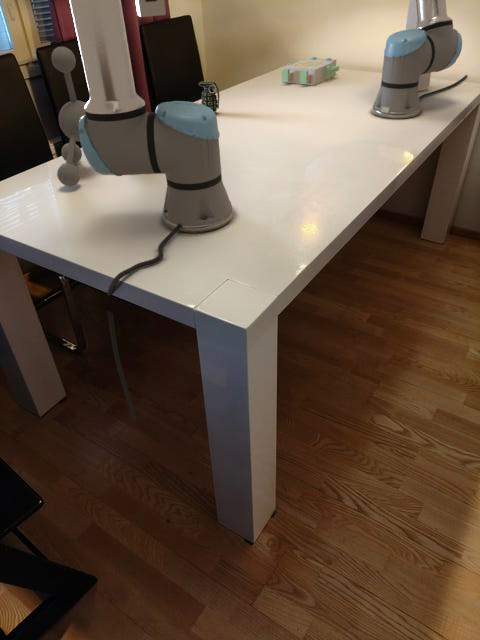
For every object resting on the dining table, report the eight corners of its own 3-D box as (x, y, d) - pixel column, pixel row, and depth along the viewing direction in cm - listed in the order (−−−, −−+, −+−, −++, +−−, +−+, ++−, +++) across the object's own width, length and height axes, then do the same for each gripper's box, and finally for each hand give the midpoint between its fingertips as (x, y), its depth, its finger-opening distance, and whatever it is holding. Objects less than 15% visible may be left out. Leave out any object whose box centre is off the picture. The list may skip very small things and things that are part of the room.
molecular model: (148, 176, 128) (126, 47, 109) (62, 192, 122) (23, 59, 103) (130, 150, 145) (108, 34, 127) (54, 163, 139) (20, 44, 121)
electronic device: (399, 93, 181) (413, -3, 163) (389, 89, 187) (401, -5, 168) (429, 89, 183) (446, -6, 165) (418, 85, 189) (433, -8, 171)
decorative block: (304, 55, 215) (345, 58, 206) (303, 71, 219) (344, 74, 210) (272, 66, 199) (316, 70, 190) (273, 83, 203) (315, 88, 194)
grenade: (199, 115, 171) (196, 84, 165) (204, 110, 175) (201, 80, 169) (217, 115, 170) (215, 84, 164) (221, 111, 174) (219, 80, 168)
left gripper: (111, -117, 116) (129, -1, 130) (121, -127, 102) (140, 4, 116) (142, -118, 118) (157, -3, 132) (156, -128, 104) (171, 1, 118)
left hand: (149, 0), depth 124 cm, fingers closed on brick, 5 cm apart
